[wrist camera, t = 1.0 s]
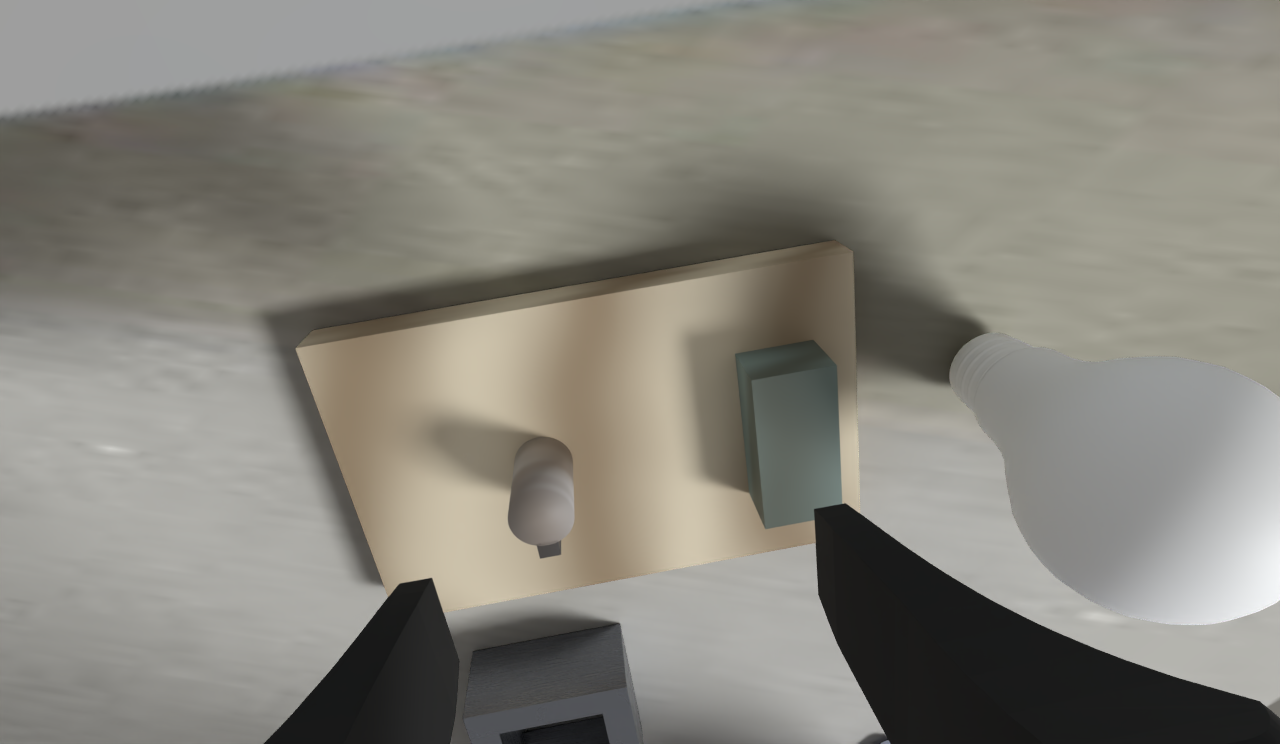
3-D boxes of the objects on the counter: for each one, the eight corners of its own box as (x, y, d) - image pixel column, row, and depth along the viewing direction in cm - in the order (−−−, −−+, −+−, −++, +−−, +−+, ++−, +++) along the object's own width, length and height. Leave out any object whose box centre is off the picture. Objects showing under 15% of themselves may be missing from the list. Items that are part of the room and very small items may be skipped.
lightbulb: (852, 345, 23) (1077, 557, 13) (1018, 232, 22) (1398, 366, 12) (933, 470, 25) (1176, 732, 15) (1087, 372, 24) (1454, 584, 14)
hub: (620, 623, 27) (626, 687, 24) (641, 727, 29) (650, 796, 26) (472, 651, 27) (462, 718, 24) (506, 754, 29) (500, 826, 26)
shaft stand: (834, 240, 22) (898, 279, 18) (844, 509, 26) (898, 593, 22) (312, 330, 21) (252, 393, 17) (406, 591, 25) (375, 693, 21)
